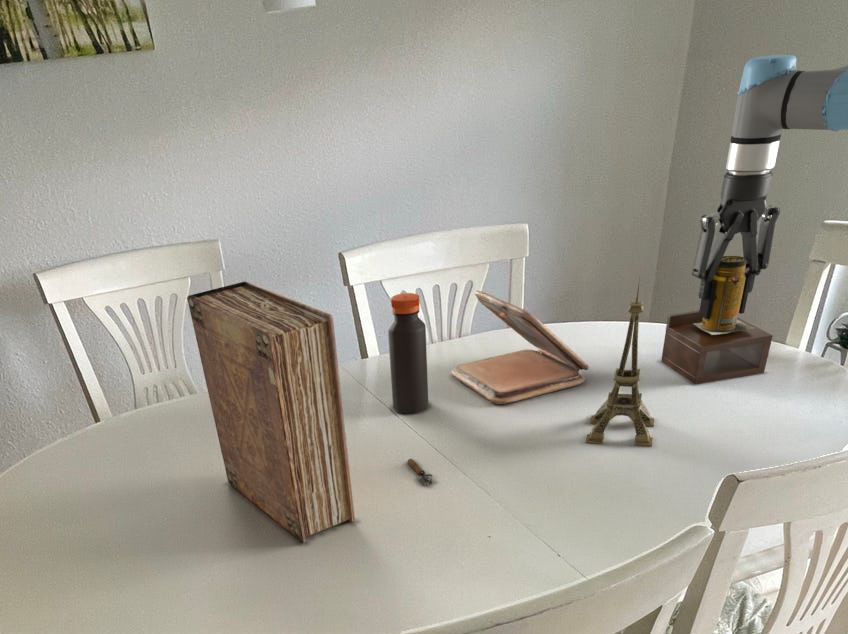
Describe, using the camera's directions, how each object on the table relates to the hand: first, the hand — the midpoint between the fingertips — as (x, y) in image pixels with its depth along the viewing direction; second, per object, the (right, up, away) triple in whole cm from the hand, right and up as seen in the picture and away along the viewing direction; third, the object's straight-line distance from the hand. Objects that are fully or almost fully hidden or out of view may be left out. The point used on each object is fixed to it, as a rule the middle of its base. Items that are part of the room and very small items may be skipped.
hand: (721, 313), depth 145 cm
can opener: (-57, -34, -18) cm, 69 cm away
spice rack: (+1, -8, +6) cm, 10 cm away
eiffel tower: (-23, -25, -12) cm, 36 cm away
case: (-36, -9, +10) cm, 38 cm away
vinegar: (-58, -16, +4) cm, 60 cm away
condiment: (+1, -2, +2) cm, 3 cm away
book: (-78, -39, -21) cm, 90 cm away
